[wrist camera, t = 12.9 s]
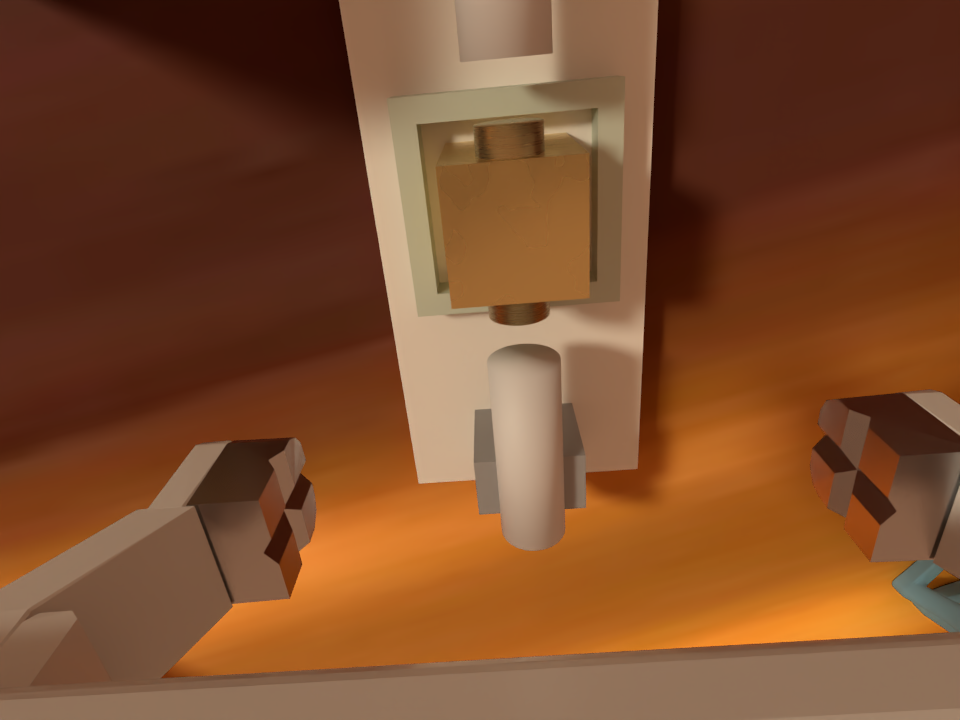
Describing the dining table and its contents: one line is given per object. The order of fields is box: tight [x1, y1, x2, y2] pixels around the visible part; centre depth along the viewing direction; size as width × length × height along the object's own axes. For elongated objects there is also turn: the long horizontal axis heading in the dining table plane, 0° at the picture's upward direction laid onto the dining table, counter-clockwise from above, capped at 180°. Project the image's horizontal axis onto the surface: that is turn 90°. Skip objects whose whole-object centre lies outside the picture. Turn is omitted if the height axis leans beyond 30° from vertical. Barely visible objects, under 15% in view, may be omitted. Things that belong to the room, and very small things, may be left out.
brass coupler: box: [435, 118, 590, 326], centre depth 23 cm, size 7×5×6 cm
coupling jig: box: [339, 0, 658, 551], centre depth 24 cm, size 30×12×8 cm, turn 5°
